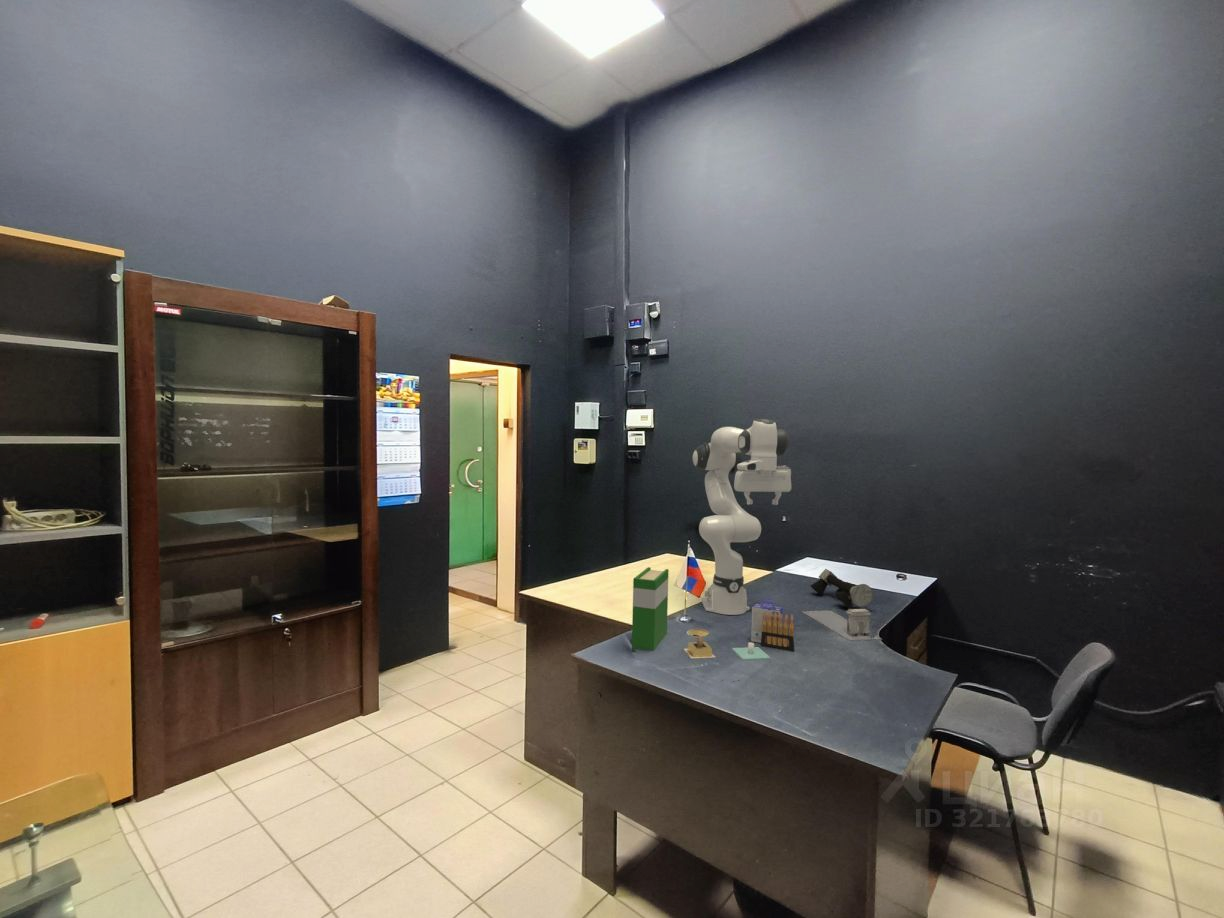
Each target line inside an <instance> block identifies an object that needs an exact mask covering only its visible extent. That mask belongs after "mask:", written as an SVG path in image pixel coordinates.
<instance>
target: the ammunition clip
mask: <svg viewBox="0 0 1224 918" xmlns="http://www.w3.org/2000/svg"><path fill="white" fill-rule="evenodd" d="M783 619H784V621H783ZM794 621H795V619H794V615H793V614H791V616H790V618H789V616H788V614H787V613H786V614H785V616H784V618H782V614H781V613H780V616H779V624H778V625H777V614H776V612H775V614H774V621H773V631H772V615H771V612H769V616H768V624H767V616H766V611H764V614H763V622H762V636H761V643H760V647H763V648H769V649H774V650H775V649H776V650H780V651H787V652H792V653H794V652H795V622H794ZM777 637H778V641H777Z"/></svg>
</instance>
